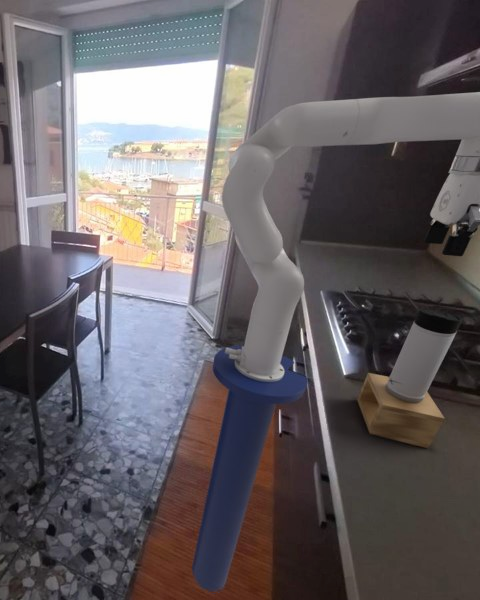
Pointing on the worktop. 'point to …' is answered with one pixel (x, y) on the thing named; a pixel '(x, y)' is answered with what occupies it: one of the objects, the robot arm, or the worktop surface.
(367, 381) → the shelf
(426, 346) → the travel mug
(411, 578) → the worktop surface
